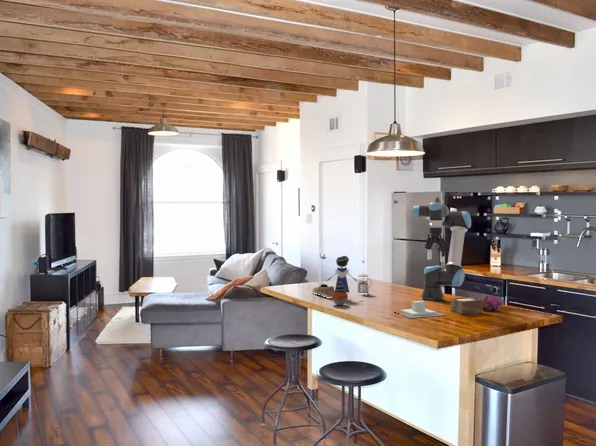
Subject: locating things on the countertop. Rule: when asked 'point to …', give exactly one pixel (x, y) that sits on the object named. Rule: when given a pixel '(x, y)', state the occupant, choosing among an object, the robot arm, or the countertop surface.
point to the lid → (418, 309)
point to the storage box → (466, 305)
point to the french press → (365, 285)
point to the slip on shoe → (324, 290)
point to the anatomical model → (491, 303)
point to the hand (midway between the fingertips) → (435, 260)
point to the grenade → (339, 294)
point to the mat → (424, 315)
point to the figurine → (342, 272)
